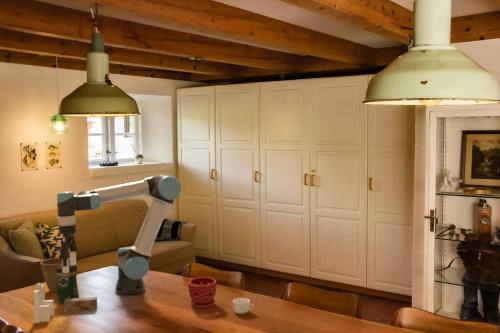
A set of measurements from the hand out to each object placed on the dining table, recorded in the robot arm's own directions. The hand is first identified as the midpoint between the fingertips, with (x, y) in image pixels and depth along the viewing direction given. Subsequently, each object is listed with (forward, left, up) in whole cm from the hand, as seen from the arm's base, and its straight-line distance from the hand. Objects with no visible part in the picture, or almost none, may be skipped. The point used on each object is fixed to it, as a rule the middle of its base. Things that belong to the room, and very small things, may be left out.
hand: (69, 268), depth 240 cm
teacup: (-80, +21, -19) cm, 85 cm away
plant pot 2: (-62, +8, -19) cm, 65 cm away
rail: (-5, +3, -19) cm, 20 cm away
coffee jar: (+4, -11, -19) cm, 22 cm away
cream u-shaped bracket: (+9, +12, -19) cm, 24 cm away
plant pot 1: (+14, -30, -19) cm, 38 cm away
